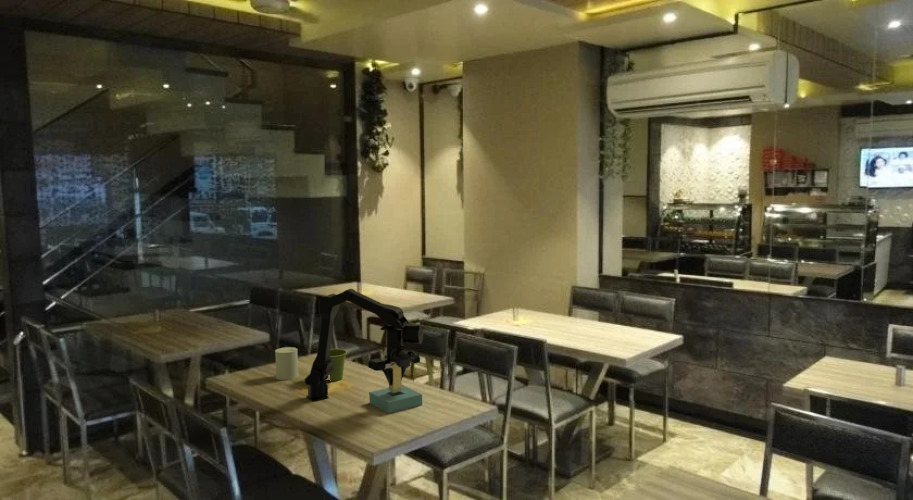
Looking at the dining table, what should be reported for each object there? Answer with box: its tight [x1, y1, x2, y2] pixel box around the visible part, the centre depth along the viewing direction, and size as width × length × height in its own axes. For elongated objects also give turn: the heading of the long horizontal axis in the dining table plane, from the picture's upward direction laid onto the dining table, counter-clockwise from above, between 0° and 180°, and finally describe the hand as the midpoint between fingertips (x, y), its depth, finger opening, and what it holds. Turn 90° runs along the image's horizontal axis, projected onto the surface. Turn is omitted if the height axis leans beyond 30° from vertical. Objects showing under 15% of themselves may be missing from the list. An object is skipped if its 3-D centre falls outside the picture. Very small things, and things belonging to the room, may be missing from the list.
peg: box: [388, 364, 403, 393], centre depth 236 cm, size 3×3×9 cm
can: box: [274, 346, 300, 381], centre depth 271 cm, size 9×9×12 cm
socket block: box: [368, 384, 423, 414], centre depth 237 cm, size 14×14×4 cm
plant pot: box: [330, 348, 348, 382], centre depth 267 cm, size 12×12×11 cm
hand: (395, 384), depth 236 cm, fingers closed on peg, 3 cm apart
